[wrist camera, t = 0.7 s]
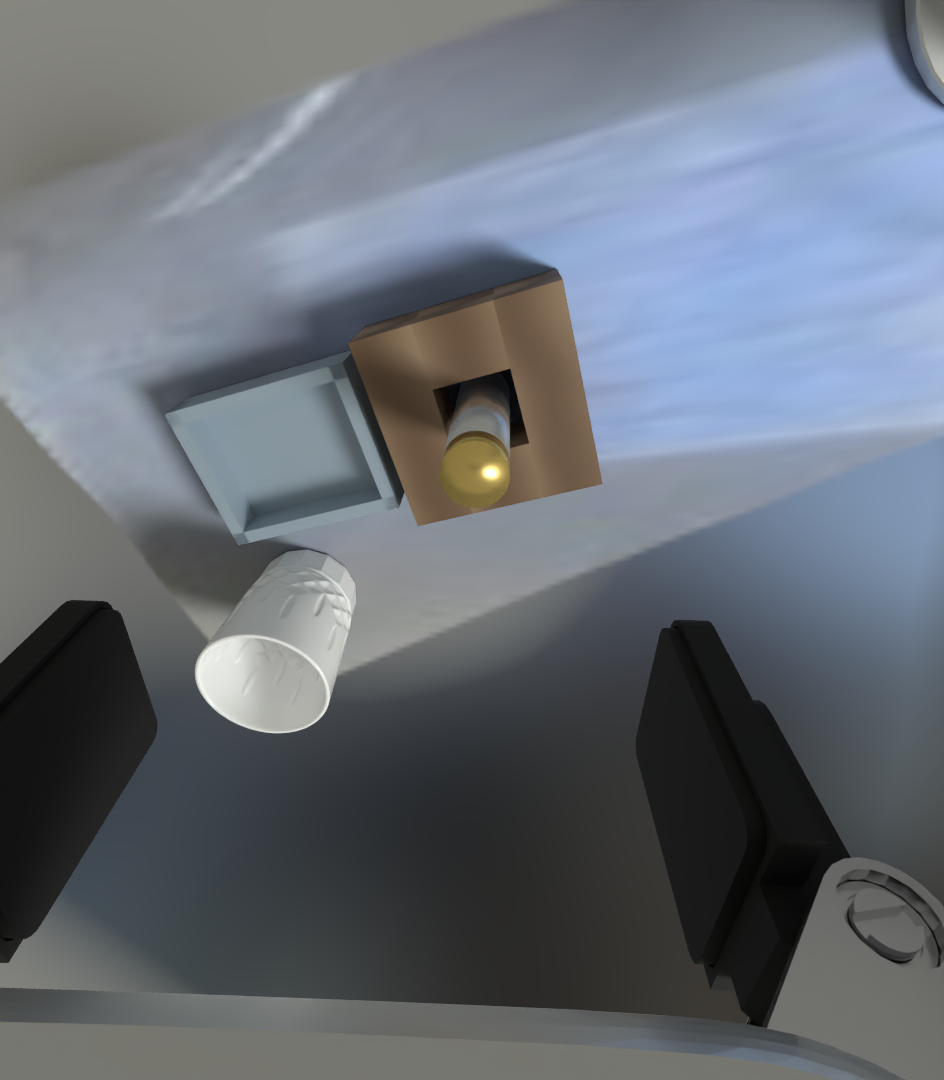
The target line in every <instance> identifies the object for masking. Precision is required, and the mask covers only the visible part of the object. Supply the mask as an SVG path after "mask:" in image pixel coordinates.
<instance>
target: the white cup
mask: <svg viewBox="0 0 944 1080" xmlns="http://www.w3.org/2000/svg"><path fill="white" fill-rule="evenodd" d="M355 604H356V585H355V583H354V581H353V579H352V578H351V576H350V574H349V573H348V571H347V569H346V568H345V567H344V566H343V565H341V564H340V563H338V562H337V561H336V560H334V559H333V558H332V557H330V556H329V555H326V554H322V553H319V552H315V551H312V550H308V549H306V550H297V551H287V552H285V553H284V554H282V555H281V556H279V557H277V558H276V559H274V560H273V561H271V562H270V564H269V565H268V566H267V568H266V569H265V571H264V572H263V573H262V575H261V576H260V578H259V579H258V580H257V581H256V582H255V583H254V584H253V585H252V586H251V587H250V588H249V590H248V591H247V592H246V594H245V595H244V597H243V598H242V599H241V600H240V601H239V602H238V604H237V605H236V606H235V608H234V609H233V610H232V612H231V613H230V614H229V616H228V617H227V619H226V620H225V621H224V623H223V624H222V625H221V627H220V628H219V630H218V631H217V632H216V634H215V635H214V636H213V638H212V639H211V640H210V642H209V643H208V644H207V646H206V647H205V649H204V650H203V651H202V652H201V654H200V655H199V657H198V659H197V662H196V666H195V678H196V683H197V686H198V688H199V690H200V692H201V694H202V695H203V697H204V698H205V700H206V701H207V702H208V703H209V704H210V706H211V707H213V708H214V709H215V710H216V711H217V712H218V713H220V714H221V715H222V716H224V717H225V718H227V719H229V720H231V721H232V722H234V723H236V724H239V725H241V726H243V727H246V728H249V729H252V730H256V731H261V732H268V733H288V732H294V731H298V730H301V729H304V728H306V727H309V726H310V725H312V724H314V723H315V722H316V721H318V720H319V719H320V718H321V717H322V715H323V714H324V713H325V711H326V709H327V707H328V704H329V701H330V697H331V694H332V690H333V686H334V683H335V679H336V676H337V673H338V669H339V666H340V662H341V659H342V656H343V652H344V648H345V644H346V639H347V636H348V633H349V628H350V623H351V617H352V614H353V610H354V607H355Z"/></svg>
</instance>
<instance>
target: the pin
mask: <svg viewBox="0 0 944 1080" xmlns="http://www.w3.org/2000/svg"><path fill="white" fill-rule="evenodd" d="M509 481H510V390H509V386H508V383H507V381H506V380H505V378H504V377H503V376H502V375H501V374H499V373H498V372H496V373H492V374H489V375H485V376H481V377H478V378H474V379H470V380H467V381H463V382H462V383H461V386H460V389H459V393H458V397H457V402H456V406H455V410H454V414H453V418H452V422H451V426H450V431H449V435H448V439H447V443H446V447H445V451H444V455H443V459H442V464H441V468H440V482H441V485H442V488H443V490H444V491H445V493H446V494H447V496H448V497H449V498H450V499H452V500H453V501H454V502H456V503H458V504H460V505H462V506H465V507H470V508H481V507H486V506H489V505H491V504H493V503H495V502H496V501H498V500H499V499H500V498H501V497H502V496H503V495H504V493H505V492H506V490H507V488H508V485H509Z"/></svg>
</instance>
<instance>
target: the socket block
mask: <svg viewBox="0 0 944 1080" xmlns="http://www.w3.org/2000/svg"><path fill="white" fill-rule="evenodd" d="M348 345H349V347H350V350H351V352H352V355H353V358H354V360H355V363H356V366H357V368H358V371H359V373H360V376H361V379H362V381H363V384H364V386H365V389H366V392H367V394H368V397H369V400H370V402H371V405H372V407H373V410H374V413H375V415H376V418H377V421H378V423H379V426H380V428H381V431H382V434H383V436H384V439H385V442H386V444H387V447H388V449H389V452H390V455H391V457H392V460H393V462H394V465H395V468H396V470H397V473H398V476H399V478H400V481H401V483H402V486H403V489H404V491H405V494H406V497H407V499H408V502H409V504H410V507H411V510H412V512H413V515H414V518H415V520H416V523H417V525H418V526H420V525H425V524H429V523H433V522H438V521H442V520H446V519H451V518H455V517H460V516H464V515H468V514H473V513H477V512H481V511H486V510H490V509H495V508H499V507H503V506H508V505H512V504H517V503H521V502H525V501H530V500H534V499H538V498H543V497H547V496H552V495H556V494H560V493H565V492H569V491H573V490H578V489H582V488H587V487H591V486H595V485H600V484H602V479H601V474H600V469H599V464H598V458H597V453H596V448H595V443H594V438H593V433H592V428H591V423H590V417H589V412H588V407H587V402H586V397H585V392H584V387H583V382H582V376H581V371H580V366H579V361H578V356H577V351H576V346H575V341H574V335H573V330H572V325H571V320H570V315H569V310H568V305H567V300H566V294H565V289H564V284H563V279H562V278H561V276H560V274H559V272H558V270H557V269H555V270H551V271H548V272H545V273H541V274H538V275H535V276H531V277H528V278H525V279H522V280H518V281H515V282H512V283H508V284H505V285H502V286H498V287H495V288H492V289H488V290H485V291H482V292H478V293H475V294H472V295H468V296H465V297H462V298H458V299H455V300H452V301H448V302H445V303H442V304H438V305H435V306H432V307H428V308H425V309H422V310H418V311H415V312H412V313H408V314H405V315H402V316H398V317H395V318H392V319H388V320H385V321H382V322H378V323H375V324H372V325H368V326H365V327H364V328H363V329H362V330H361V331H360V332H359V333H358V334H357V335H356V336H355V337H354V338H353V339H352V340H351V341H350V342H349V343H348ZM507 369H511V373H512V377H513V381H514V385H515V389H516V393H517V397H518V401H519V405H520V409H521V413H522V417H523V420H519V421H515V422H511V423H510V481H509V485H508V488H507V490H506V492H505V493H504V495H503V496H502V497H501V498H500V499H499V500H498V501H496V502H495V503H493V504H491V505H489V506H486V507H481V508H470V507H465V506H462V505H460V504H458V503H456V502H454V501H453V500H452V499H450V498H449V497H448V496H447V494H446V493H445V491H444V490H443V488H442V485H441V482H440V468H441V464H442V459H443V455H444V451H445V447H446V443H447V439H448V435H449V431H450V426H451V422H452V418H453V414H454V412H453V409H452V406H451V403H450V400H449V396H448V393H447V390H446V387H445V386H448V385H452V384H456V383H459V382H463V381H467V380H470V379H474V378H478V377H481V376H485V375H489V374H492V373H496V372H500V371H503V370H507Z"/></svg>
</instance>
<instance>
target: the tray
mask: <svg viewBox="0 0 944 1080" xmlns="http://www.w3.org/2000/svg"><path fill="white" fill-rule="evenodd" d="M164 415H165V417H166V419H167V421H168V422H169V424H170V426H171V428H172V429H173V431H174V433H175V435H176V436H177V438H178V440H179V442H180V444H181V445H182V447H183V449H184V451H185V452H186V454H187V456H188V458H189V459H190V461H191V463H192V465H193V467H194V468H195V470H196V472H197V474H198V475H199V477H200V479H201V481H202V482H203V484H204V486H205V488H206V489H207V491H208V493H209V495H210V497H211V498H212V500H213V502H214V504H215V505H216V507H217V509H218V511H219V512H220V514H221V516H222V518H223V520H224V521H225V523H226V525H227V527H228V528H229V530H230V532H231V534H232V535H233V537H234V539H235V541H236V543H237V544H238V545H242V544H246V543H251V542H255V541H259V540H263V539H268V538H272V537H276V536H280V535H285V534H289V533H293V532H297V531H302V530H306V529H310V528H314V527H319V526H323V525H327V524H331V523H335V522H340V521H344V520H348V519H352V518H357V517H361V516H365V515H369V514H374V513H378V512H382V511H386V510H391V509H395V508H399V506H400V503H401V500H402V497H403V494H404V489H403V486H402V483H401V481H400V478H399V476H398V473H397V470H396V468H395V465H394V462H393V460H392V457H391V455H390V452H389V449H388V447H387V444H386V442H385V439H384V436H383V434H382V431H381V428H380V426H379V423H378V421H377V418H376V415H375V413H374V410H373V407H372V405H371V402H370V400H369V397H368V394H367V392H366V389H365V386H364V384H363V381H362V379H361V376H360V373H359V371H358V368H357V366H356V363H355V360H354V358H353V355H352V352H351V350H350V351H346V352H343V353H339V354H336V355H333V356H329V357H326V358H322V359H319V360H316V361H312V362H309V363H305V364H302V365H299V366H295V367H292V368H288V369H285V370H282V371H278V372H275V373H271V374H268V375H264V376H261V377H258V378H254V379H251V380H247V381H244V382H241V383H237V384H234V385H230V386H227V387H224V388H220V389H217V390H213V391H210V392H207V393H203V394H200V395H196V396H193V397H190V398H187V399H186V400H185V401H183V402H182V403H180V404H179V405H177V406H176V407H174V408H173V409H171V410H170V411H168V412H167V413H165V414H164Z"/></svg>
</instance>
